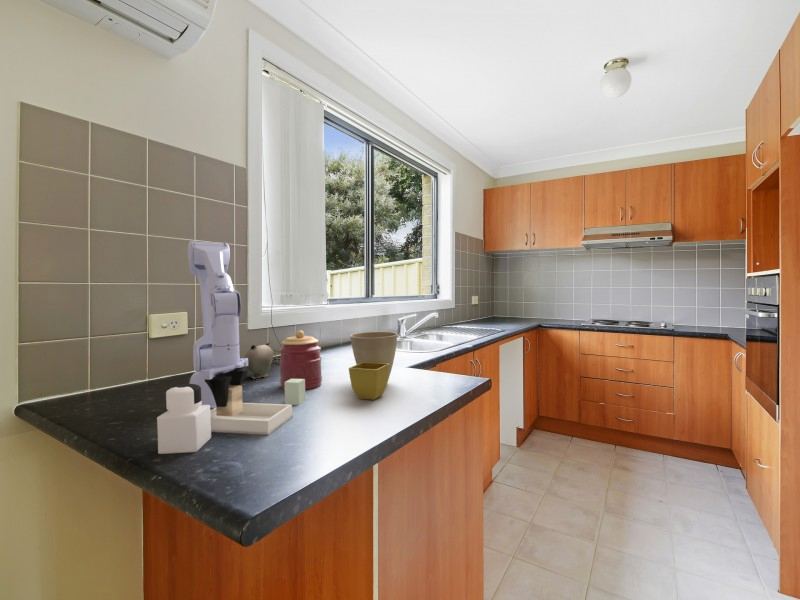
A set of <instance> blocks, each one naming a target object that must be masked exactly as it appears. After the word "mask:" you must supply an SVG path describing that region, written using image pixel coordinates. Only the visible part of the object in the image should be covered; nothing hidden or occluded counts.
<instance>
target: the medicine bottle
mask: <svg viewBox="0 0 800 600" xmlns="http://www.w3.org/2000/svg"><path fill="white" fill-rule="evenodd" d="M165 400H166V410H167V411H165V412H163V413H162V414H159V416H157V417H156V431H157V432H156V434H157V453H158V454H159V455H167V454H183V453H184V454H188V453H189V454H190V453H196V452H198V451H199V450H200V449H201V448H202V447H203V446H204V445H206V444H207V443H208V442H209V440H211V438H212V432H211V415H210V410H211V408H210V405H201V404H202V399H201V387H200V386H199V385H196V384H190V383H183V384H177V385H174V386H172V387H170V388H168V389H167V390H166V391H165Z"/></svg>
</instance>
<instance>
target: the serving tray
mask: <svg viewBox="0 0 800 600" xmlns="http://www.w3.org/2000/svg"><path fill="white" fill-rule="evenodd" d="M210 415H211V433H225V434H226V433H227V434H244V435H245V434H246V435H260V436H261V435H263V436H264V435H265V436H269V435H271V434H272V433H273V432H275V431H276V430H278V428H280V427H282V425H284V424H286V423H287V422H288V421H289V420H291V418H293V405H286V404H285V403H283V404H282V403H280V404H279V403H257V402H255V403H254V402H253V403H252V402H243V411H241V412H240V413H238V414H236V415H234V416H216V408H211V409H210Z"/></svg>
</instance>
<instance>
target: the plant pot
mask: <svg viewBox="0 0 800 600" xmlns="http://www.w3.org/2000/svg"><path fill="white" fill-rule="evenodd" d="M349 337H350V343H351V348H352V353H353V357H354V360H355V365H357V364H360V363H362V362H368V363H387V364H389V374H388V382H389V380H390V376H391V372H392V369H393V365H394V361H395V356H396V350H397V344H398V343H397V342H398V333H397V332H393V331H365V332H357V333H352V334H350V336H349ZM388 382H387V384H388Z"/></svg>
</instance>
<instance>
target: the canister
mask: <svg viewBox="0 0 800 600" xmlns="http://www.w3.org/2000/svg"><path fill="white" fill-rule="evenodd" d="M318 343H319V339H317V338H315V337H314V336H313V335H311V336H310V335H305V332H304V331H303V330H301V329H299V330H297V331H296V332H295V336H289V337H286V338H285V339H284V340H282V341H281V344H282V346H281V348H279V350H278V352H279V353H280V359H279V361H278V362H279V384H280V388H281V389H282V390H285V385H284V382H286V381H288V380H290V379H305V391H306V390H312V389H315V388H318V387H320V386H321V385H322V382H323V375H322V357H321V355H320V353H321V352H320V351H321V350H322V347H321V346H320V345H319V344H318Z"/></svg>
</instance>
